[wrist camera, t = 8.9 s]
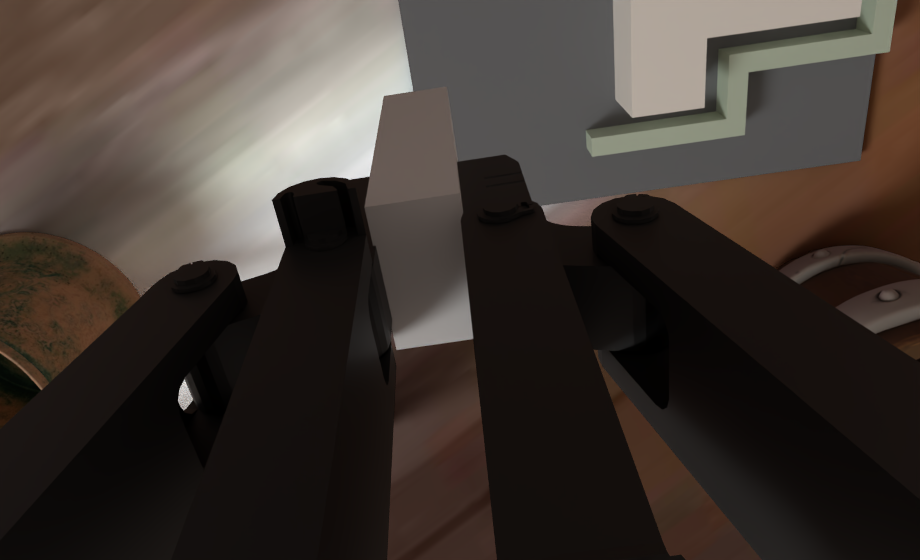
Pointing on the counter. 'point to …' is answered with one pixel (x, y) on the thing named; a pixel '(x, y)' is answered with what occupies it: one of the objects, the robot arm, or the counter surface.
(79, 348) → the brown clay pitcher
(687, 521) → the counter surface
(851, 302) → the flowerpot
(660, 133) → the bay
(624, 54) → the t block
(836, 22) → the mat
